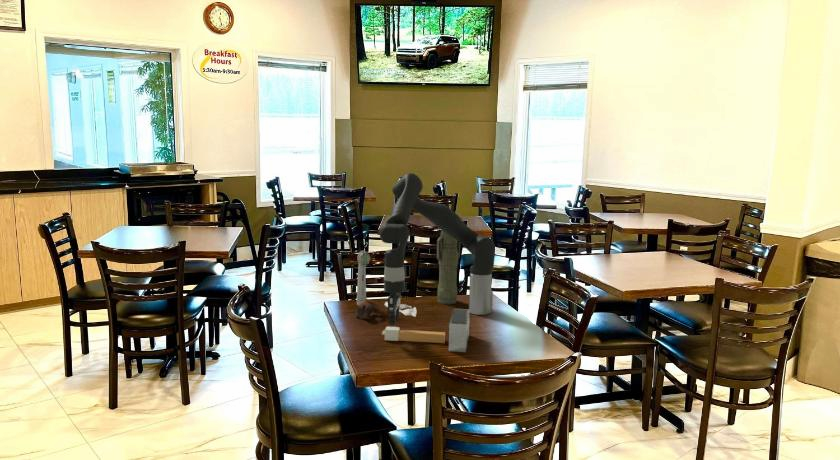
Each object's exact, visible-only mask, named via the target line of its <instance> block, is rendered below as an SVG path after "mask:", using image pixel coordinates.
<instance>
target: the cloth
mask: <svg viewBox="0 0 840 460" xmlns="http://www.w3.org/2000/svg"><path fill="white" fill-rule="evenodd" d="M384 306H385V307H387V308H388V301H385V302H384ZM403 308H404V309H403ZM402 309H403V310H402ZM417 311H418V310H417V308H416V307H415V306H414V307H413V308H412V306H411V305H408V304H405V303H403V304H402V303H401V304H400V308H399V313H402V314H403V315H404V316H413V317H415V318H416V316H417Z"/></svg>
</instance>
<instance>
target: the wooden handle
mask: <svg viewBox="0 0 840 460" xmlns="http://www.w3.org/2000/svg"><path fill="white" fill-rule="evenodd" d="M381 335H382V336H384V341H392V342H393V341H394V342H395V341H396V342H400V341H401V342H403V341H404V342H418V343H419V342H420V343H434V344H435V343H436V344H445V343H446V332H445V331H429V330H428V331H427V330H426V331H425V330H414V329H413V330H410V329H409V330H408V329H401V327H399V326H386V327H385V329H384V330H382V332H381Z"/></svg>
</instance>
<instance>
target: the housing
mask: <svg viewBox="0 0 840 460" xmlns="http://www.w3.org/2000/svg"><path fill="white" fill-rule="evenodd" d="M450 314H451V316H450V320H449V325H448V329H449V330H448V352H453V353H455V352H457V353H467V348H468V341H469V338H470V337H469V336H470V316H471V315H470V314H471V313H470V310H469V308H467V309H464V308H452V312H451V313H450Z"/></svg>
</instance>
